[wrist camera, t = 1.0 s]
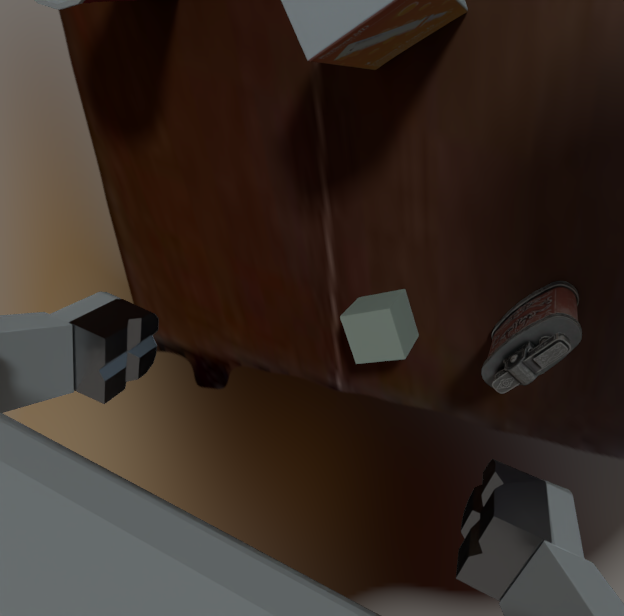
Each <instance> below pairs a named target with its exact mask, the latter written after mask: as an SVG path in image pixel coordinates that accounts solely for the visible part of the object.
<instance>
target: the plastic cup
mask: <svg viewBox="0 0 624 616" xmlns="http://www.w3.org/2000/svg"><path fill="white" fill-rule="evenodd" d="M35 1H36V2H37V3H38V4H42V5H45V6H48V7H51V8H54V9H58V10H60V9H65V8H68V7H71V6H75V5H78V4H81V3H91V2H103V1H137V0H35Z"/></svg>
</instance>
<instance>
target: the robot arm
mask: <svg viewBox="0 0 624 616" xmlns="http://www.w3.org/2000/svg"><path fill="white" fill-rule="evenodd" d="M157 331H158V317H157V316H156V315H155V314H154V313H152V312H150V311H148V310H145V309H143V308H141V307H139V306H137V305H134V304H132V303H130V302H128V301H126V300H123V299H120V298H119V297H116V296H114V295H112V294H110V293H107V292H98V293H96V294H94V295H91V296H89V297H87V298H85V299H82V300H81V301H78V302H76V303H74V304H71V305H69V306H67V307H65V308H62V309H61V310H58V311H56V312H54V313H52V314H48V313H45V312H39V313H26V314H13V315H0V616H380V615H378V614H377V613H375V612H373V611H371V610H369V609H367V608H365V607H363V606H362V605H360V604H358V603H356V602H354V601H352V600H350V599H349V598H347V597H345V596H343V595H341V594H339V593H337V592H335V591H334V590H332V589H330V588H328V587H326V586H324V585H322V584H321V583H319V582H317V581H315V580H313V579H311V578H309V577H307V576H306V575H304V574H302V573H300V572H298V571H296V570H294V569H292V568H291V567H289V566H287V565H285V564H283V563H281V562H279V561H278V560H275V559H274V558H272V557H270V556H268V555H266V554H265V553H263V552H261V551H259V550H257V549H255V548H253V547H252V546H250V545H248V544H246V543H244V542H242V541H240V540H238V539H237V538H235V537H233V536H231V535H229V534H227V533H225V532H223V531H222V530H219V529H218V528H216V527H214V526H212V525H210V524H208V523H207V522H205V521H203V520H201V519H199V518H197V517H195V516H193V515H192V514H190V513H188V512H186V511H184V510H182V509H180V508H178V507H176V506H175V505H173V504H171V503H169V502H167V501H165V500H164V499H162V498H160V497H158V496H156V495H154V494H152V493H150V492H149V491H147V490H145V489H143V488H141V487H139V486H137V485H135V484H134V483H132V482H130V481H128V480H126V479H124V478H122V477H120V476H118V475H117V474H115V473H113V472H111V471H109V470H107V469H105V468H104V467H102V466H100V465H98V464H96V463H94V462H92V461H90V460H89V459H87V458H84V457H83V456H81V455H79V454H77V453H76V452H74V451H72V450H70V449H68V448H66V447H64V446H62V445H61V444H59V443H57V442H55V441H53V440H51V439H49V438H47V437H46V436H44V435H42V434H40V433H38V432H36V431H34V430H32V429H31V428H29V427H27V426H25V425H23V424H21V423H19V422H17V421H16V420H14V419H12V418H10V417H8V416H6V415H4V414H2V413H3V412H6V411H10V410H14V409H17V408H20V407H24V406H28V405H31V404H34V403H38V402H41V401H45V400H48V399H52V398H55V397H58V396H62V395H66V394H69V393H73V392H74V390H75V391H77V392H79V393H82V394H84V395H86V396H88V397H90V398H92V399H95V400H97V401H99V402H101V403H103V404H105V403H107V402H108V401H109V400H111V399H112V398H113V397H115V396H116V395H117V394H119V393H120V392H122V391H123V390H124V389H125V386H126V382H127V381H131V380H137V379H139V378H140V377H142V376H143V375H144V374H145V373H146V372H147V371H148V370H149V368H150V367H151V365H152V364H153V362H154V359H155V356H156V351H157V345H156V342H155V340H154V338H153V336H152V335H153V334H155V333H156V332H157ZM461 533H462V535H463V536H464V538H465V539H464V541H463V543H462V545H461V546H460V548H459V552H458V563H457V572H456V573H457V574H456V579H458V580H460V581H462V582H464V583H466V584H468V585H469V586H471V587H473V588H475V589H477V590H479V591H481V592H483V593H485V594H486V595H488V596H490V597H492V598H494V599H496V600H498V601H500V603H499V604H500V607H501V609H502V612H503V614H504V616H624V603H623V602H622V601H621V599H620V598H619V597H618V595H617V594H616V593H615V591H614V590H613V589H612V587H611V586H610V585H609V584H608V582H607V581H606V580H605V578H604V577H603V576H602V575H601V573H600V572H599V570H598V569H597V568H596V566H595V565H594V564H593V562H590V561H588V560H586V559H584V555H583V549H582V543H581V538H580V532H579V527H578V521H577V515H576V511H575V505H574V499H573V494H572V493H571V491H570V490H569V489H566V488H563V487H561V486H559V485H556V484H554V483H551V482H548V481H546V480H541V479H539V478H537V477H534V476H532V475H529V474H527V473H525V472H522V471H520V470H517V469H515V468H513V467H511V466H508V465H506V464H503V463H501V462H499V461H496V460H494V459H492V460H491V461H490V462H489V463H488V465H487V466H486V468H485V470H484V472H483V481H482V485H480V486H477V487H475V488H474V490H473V492H472V494H471V496H470V497H469V500H468V502H467V505H466V508H465V510H464V514H463V519H462V525H461Z"/></svg>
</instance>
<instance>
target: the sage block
mask: <svg viewBox="0 0 624 616" xmlns="http://www.w3.org/2000/svg"><path fill="white" fill-rule="evenodd" d="M340 318H341V321H342V324H343V327H344V330H345V333H346V336H347V339H348V342H349V345H350V348H351V351H352V354H353V357H354V360H355V363H356V364H361V363H371V362H381V361H391V360H401V359H406V357H407V355H408V353H409V352H410V350H411V348H412V347H413V345H414V343H415V341H416V340H417V338H418V336H419V334H418V331H417V328H416V324H415V321H414V318H413V314H412V311H411V307H410V304H409V301H408V297H407V294H406V291H405V289H402V290H397V291H391V292H386V293H380V294H375V295H370V296H364V297H359V298H358V299H357V300H356V301H355V302H354V303H353V304H352V305H351V306H350V307H349V308H348V309H347V310H346V311H345V312H344V313H343V314H342V315H341V316H340Z"/></svg>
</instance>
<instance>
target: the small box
mask: <svg viewBox="0 0 624 616" xmlns="http://www.w3.org/2000/svg"><path fill="white" fill-rule="evenodd" d="M281 1H282V4H283V6H284V8H285V10H286V13H287V15H288V17H289V20H290V22H291V24H292V26H293V29H294V31H295V33H296V35H297V38H298V40H299V42H300V45H301V47H302V49H303V51H304V54H305V56H306V58H307V61H309V62H310V61H311V62H319V63H327V64H333V65H341V66H349V67H356V68H363V69H371V70H376V69H378V68H379V67H381V66H382V65H384V64H385V63H387V62H388V61H390V60H391V59H393V58H394V57H396V56H397V55H399V54H400V53H402V52H403V51H405V50H406V49H408V48H410V47H411V46H413V45H414V44H416V43H417V42H419V41H421V40H422V39H424V38H425V37H427V36H429V35H430V34H432V33H433V32H435V31H437V30H438V29H440V28H442V27H443V26H445V25H446V24H448V23H450V22H451V21H453V20H455V19H456V18H458V17H459V16H461V15H463V14H465V13H466V12H467V11H468V8H467V5H466V3H465V0H281Z"/></svg>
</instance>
